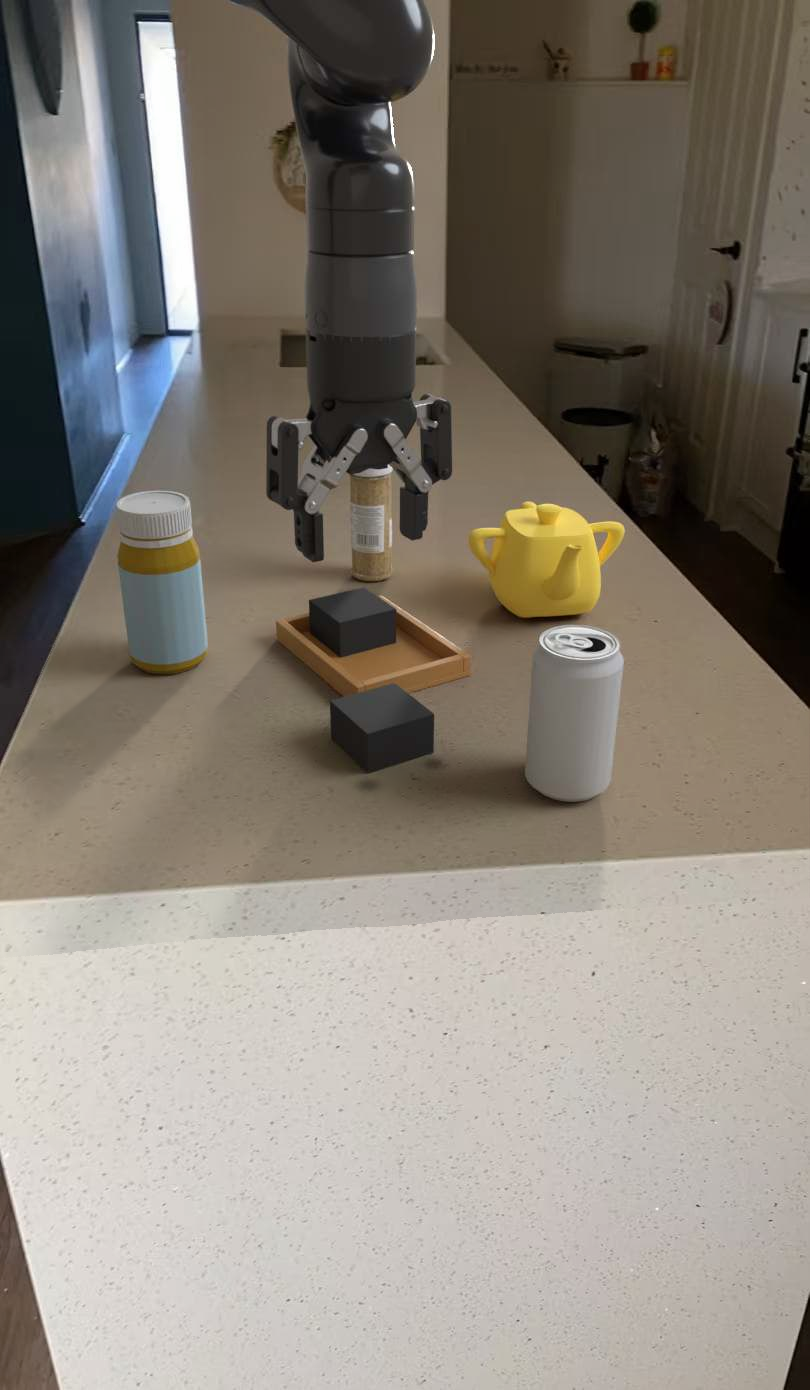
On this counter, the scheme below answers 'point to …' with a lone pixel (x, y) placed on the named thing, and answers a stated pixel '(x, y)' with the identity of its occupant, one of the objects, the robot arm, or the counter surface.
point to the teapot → (545, 559)
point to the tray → (379, 657)
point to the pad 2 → (382, 727)
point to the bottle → (161, 582)
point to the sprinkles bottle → (371, 524)
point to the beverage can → (573, 712)
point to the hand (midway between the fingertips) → (362, 547)
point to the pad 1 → (352, 621)
